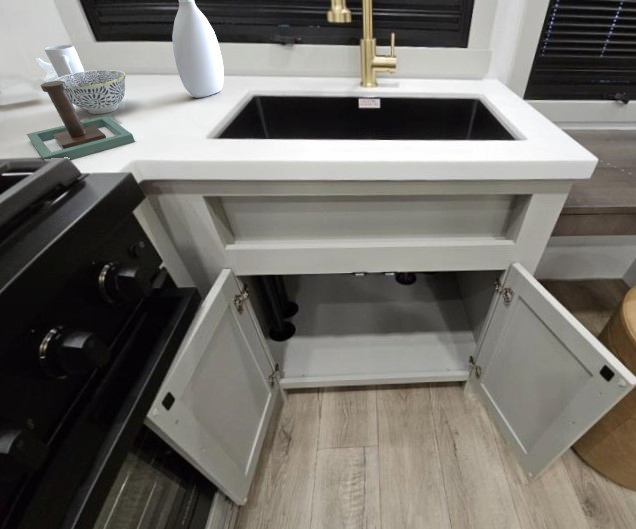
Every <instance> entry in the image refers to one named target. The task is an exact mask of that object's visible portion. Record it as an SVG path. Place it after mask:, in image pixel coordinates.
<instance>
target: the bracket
mask: <svg viewBox="0 0 636 529" xmlns="http://www.w3.org/2000/svg"><path fill="white" fill-rule="evenodd" d="M35 62H37V64H38V65H39V66H40V67H41V68H42V70H43V71H44V73H46V75H45V76H44V79H43V82H44V83H46V82H52V81H54V80H55V79H57V78H59V77H58V75H57V73H56V71H55V69H54V67H53V66H52V64H51V62H47V61H44V60H43V59H42V58H41V57H36V58H35Z"/></svg>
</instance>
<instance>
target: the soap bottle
mask: <svg viewBox="0 0 636 529" xmlns="http://www.w3.org/2000/svg"><path fill="white" fill-rule="evenodd" d="M171 38H172V39H171V40H172V48H173V55H174V61H175V66H176V69H177V72H178V76H179V78H180V81H181V83H182V86H183V88H184V89H185V90H186V91H187V92H188V94H189V95H190V96H191V97H192V98H196V99H200V98H201V99H202V98H206V97H209V96H213V95H215V94H218V93H220V92H221V91H222V89H223V85H224V80H225V75H224V74H225V73H224V63H223V57H222V53H221V49H220V45H219V41H218V39H217V35H216V34H215V31H214V29H213V27H212V25H211V24H210V22H209V20H208V18H207V17H206V16H205V15H204V13H202V11H201V10H200V9H199V7H198V6H197V5H196V2H195V0H178V10H177V13H176V15H175V18H174V22H173V27H172V35H171Z"/></svg>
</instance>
